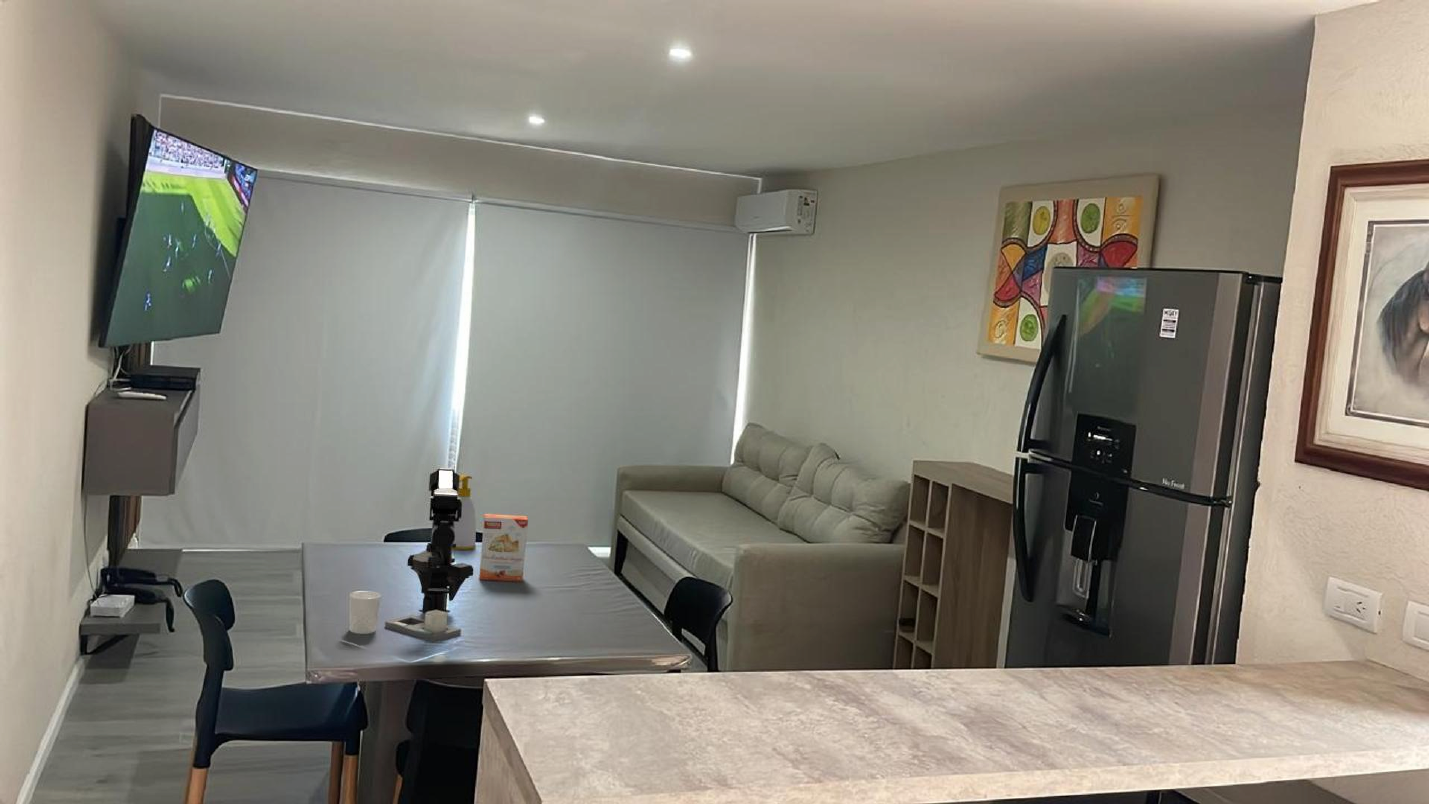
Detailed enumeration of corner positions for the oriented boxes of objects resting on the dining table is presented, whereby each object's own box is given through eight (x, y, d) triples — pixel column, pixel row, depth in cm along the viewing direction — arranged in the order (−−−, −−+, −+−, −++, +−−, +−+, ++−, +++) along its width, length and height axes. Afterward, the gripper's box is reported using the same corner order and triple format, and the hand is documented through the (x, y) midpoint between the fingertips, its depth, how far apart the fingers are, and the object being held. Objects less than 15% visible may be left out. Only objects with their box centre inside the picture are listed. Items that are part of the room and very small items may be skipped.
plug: (434, 631, 307) (436, 609, 306) (445, 634, 305) (447, 612, 304) (421, 634, 302) (423, 613, 302) (432, 638, 300) (434, 616, 300)
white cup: (368, 637, 297) (371, 600, 297) (341, 633, 299) (344, 596, 298) (383, 630, 305) (386, 593, 304) (356, 625, 307) (359, 589, 306)
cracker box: (479, 580, 366) (484, 516, 364) (479, 575, 371) (484, 513, 370) (523, 582, 368) (528, 519, 367) (522, 577, 374) (527, 515, 373)
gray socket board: (411, 621, 315) (412, 613, 315) (460, 636, 306) (461, 628, 306) (384, 628, 306) (385, 620, 306) (434, 644, 297) (434, 635, 297)
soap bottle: (438, 548, 404) (444, 475, 402) (451, 542, 416) (456, 471, 413) (468, 552, 402) (474, 479, 400) (480, 546, 414) (486, 475, 412)
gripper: (394, 537, 299) (390, 595, 300) (447, 550, 290) (442, 610, 291) (424, 532, 309) (420, 588, 310) (476, 544, 300) (472, 602, 301)
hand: (437, 597), depth 303 cm, fingers open, 9 cm apart
